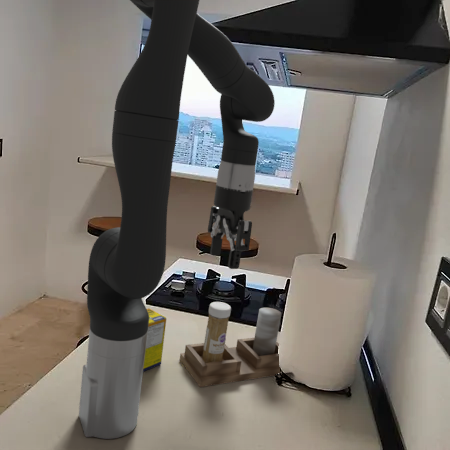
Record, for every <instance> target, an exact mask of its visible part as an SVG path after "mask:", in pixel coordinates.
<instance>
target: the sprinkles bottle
mask: <svg viewBox="0 0 450 450" xmlns="http://www.w3.org/2000/svg"><path fill="white" fill-rule="evenodd" d="M231 311H232V307H231V305H229V304H228V303H226V302H221V301H213V302H211V303H210V304H209V307H208V319H207V325H206V330H205V336H204V342H203V343H204V351H203V358H202V360H203V361H204V362H205V363H211V362H218V361H222V357H223V351H224V347H225V344H226V341H227V338H226V336H227V332H228V325H229V324H228V323H229V318H230V316H231Z"/></svg>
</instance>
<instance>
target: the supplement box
mask: <svg viewBox="0 0 450 450" xmlns="http://www.w3.org/2000/svg"><path fill="white" fill-rule="evenodd" d="M146 309H147V311H148V314H149V325H148V333H147V342H146V350H145V358H144V367H143V373H144V372H146V371H148V370H151V369H153V368H155V367H157V366H161V365H162V358H163V349H164V342H165V333H166V326H167V317H166V316H164V315H163V314H161V313H159V312H156V311H155V310H153V309H151V308H150V307H149V308H146Z"/></svg>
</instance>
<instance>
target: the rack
mask: <svg viewBox="0 0 450 450" xmlns="http://www.w3.org/2000/svg"><path fill="white" fill-rule="evenodd" d="M281 317H282V312H281V311H280V310H278V309H276V308H272V307H261V308H259V309H258V315H257V322H256V327H255V333H254V337H248V338H240V339H237V341H236V346H234V347H233V346H232V347H229V346H228V345H227V344H226V343H225V347H224V351H223V357H222V361H218V362H211V363H205V362H204V361H203V360H202V358H203V351H204V342H201V343H200V342H199V343H194V344H193V343H192V344H185V349H184V352H181V353H180V355H179V361H180V362H181V363H182V365H183V366H184V368H185V369H186V370H187V372H188V373H189V374H190V375H191V377H192V378H193V380H194V381H195V382H196V384H197V385H198V386H199V387H200V388H203V387H210V386H216V385H222V384H223V385H224V384H229V383H235V382H241V381H248V380H254V379H261V378H267V377H274V376H276V375H275V374H278V373H280V367H279V354H278V346H279V344H280V343H279V342H278V334H279V330H280V323H281V319H282V318H281Z"/></svg>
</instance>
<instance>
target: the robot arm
mask: <svg viewBox="0 0 450 450" xmlns="http://www.w3.org/2000/svg"><path fill="white" fill-rule="evenodd" d="M129 1H130V2H131V3H132V4H133V5H134V6H135V7H136V8H138V9H139V11H141V12H142V13H143V14H144V15H145V16H147V17H148V18H149V20H151V21H150V27H149V31H148V34H147V38H146V41H145V43H144V46H143V49H142V50H141V52H140V53H139V56H138V57H137V59H136V61H135V62H134V64H133V65H132V66H131V68H130V70H129V72H128V73H127V75H126V77H125V79H124V80H123V82H122V83H121V86H120V89H119V91H118V93H117V96H116V100H115V104H114V113H113V123H112V130H111V131H112V134H111V150H112V158H113V163H114V164H113V165H114V168H115V174H116V177H117V182H118V186H119V193H120V196H121V218H120V227H113V228H109V229H107V230H105V231H104V232H102V233H101V234H100V235H99V236H98V237H97V238H96V240H95V242H94V243H93V244H92V248H91V250H90V253H89V254H90V255H89V261H88V269H87V295H86V303H87V304H86V306H87V311H88V314H89V330H88V331H89V333H88V343H87V344H88V345H87V357H86V364H84V365H83V366H82V370H81V371H82V374H81V382H80V383H81V385H80V395H79V396H80V397H79V407H78V417H79V421H80V423H81V424H80V425H81V427H82V430H83V433H84V436H85V438H90V437H91V438H92V437H95V438H98V439H104V440H105V439H106V440H110V439H118V438H122V437H124V436H126V435H128V434H130V433H132V432H133V430H134V429H135V428H136V426H137V424H138V417H139V411H140V399H141V393H142V384H143V373H144V372H143V367H144V358H145V350H146V342H147V333H148V325H149V314H148V311H147V309H148V308H146V306H145V303H144V300H143V299H144V298H146V297H147V296H149V295H151V293H153V292H154V291H155V289H156V288H157V287H158V285H159V284H160V282H161V280H162V277H163V275H164V272H165V267H166V261H167V260H166V257H167V225H168V224H167V223H168V222H167V216H168V205H169V204H168V203H169V196H170V188H171V180H172V179H171V178H172V169H173V160H174V155H175V149H176V142H177V134H178V128H179V127H178V126H179V120H180V111H181V110H180V109H181V108H180V107H181V99H182V91H183V85H184V79H185V72H186V66H187V65H186V64H187V59H188V57H189V58H190V59H191V60H192V62H193V63H194V64H195V65H196V67H197V68H198V69H199V70H200V72H201V73H202V74H203V76H204V77H205V78H206V80H207V81H208V82H209V84H210V85H211V87H213V89H214V90H215V91H216V92H217V93H218V94H221V95H220V98H219V111H220V112H219V114H220V119H221V120H220V121H221V129H222V139H223V143H222V151H221V157H220V163H219V167H218V169H217V176H216V185H215V191H214V199H213V205H212V206H211V207H210V214H209V220H208V227H207V232H208V233H210V237H211V245H210V251H209V254H210V255H211V256H215V257H216V256H220V255H221V251H222V245H223V238H224V236H226V240H227V241H228V242H229V246H230V250H229V255H228V262H227V267H228V268H229V269H230V270H238V269H239V268H240V263H241V256H242V252H248V251H249V249H250V243H251V236H252V235H251V234H252V227H253V222H252V221H251V220H245V217H244V215H245V214H244V213H246V212H248V211H249V210H250V209H251V206H252V205H251V204H252V197H253V192H254V187H255V179H256V165H257V157H258V152H259V146H260V145H259V142H260V141H259V139H258V137H257V136H256V135H254V134H252V133H249V132H247V131H246V130H245V128H244V125H243V121H247V122H254V123H255V122H256V123H259V122H264V121H266V120H268V119H269V118H270V117H271V116H272V114H273V112H274V109H275V101H276V100H275V95H274V92H273V91H272V89H271V87H270V85H269V84H268V83H267V82H266V81H265V80H264V79H263V77H261V76H260V75H259V74H257V73H256V72H255V71H254V70H253V69H251V68H250V67H249V66H248V65H247V64H246V63H245V61H244V60H243V58H242V56H241V55H240V53H239V51H238V50H237V48H236V46H235V45H234V44H233V42H232V40H230V38H229V37H228V36H227V35H225V34H224V32H222V31H221V30H220V29H219V28H217V27H216V26H215V25H213V24H212V23H211V22H209V21H208V20H206V19H205V18H204V17H203V16H201V15H200V14H199V13H198V9H199V8H198V7H199V4H200V0H129Z"/></svg>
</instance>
